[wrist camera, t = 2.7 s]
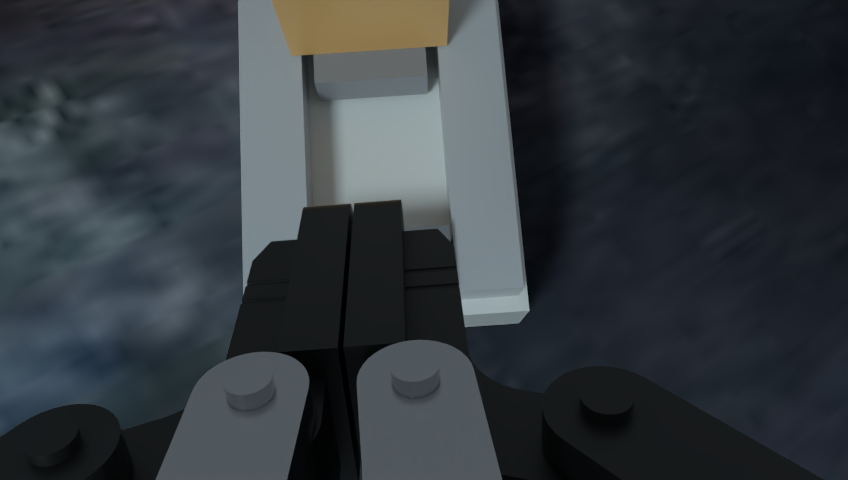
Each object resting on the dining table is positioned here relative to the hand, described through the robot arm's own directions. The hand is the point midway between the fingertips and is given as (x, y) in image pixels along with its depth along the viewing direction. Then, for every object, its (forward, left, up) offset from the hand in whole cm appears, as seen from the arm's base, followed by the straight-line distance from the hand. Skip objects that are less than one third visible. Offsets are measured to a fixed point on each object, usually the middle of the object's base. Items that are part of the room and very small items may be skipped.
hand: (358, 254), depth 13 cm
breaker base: (-6, +9, -16) cm, 19 cm away
